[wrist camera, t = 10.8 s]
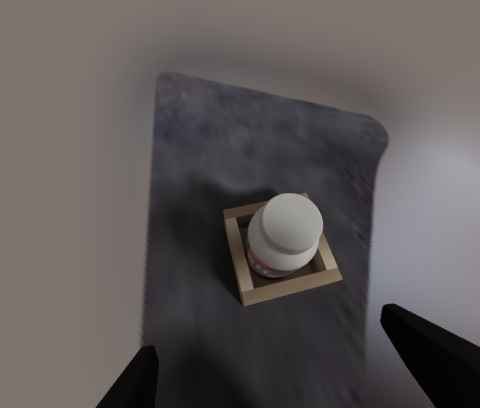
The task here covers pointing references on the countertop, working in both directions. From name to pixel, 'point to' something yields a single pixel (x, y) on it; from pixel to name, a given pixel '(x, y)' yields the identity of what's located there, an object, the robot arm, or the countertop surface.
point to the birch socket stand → (260, 290)
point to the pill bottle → (283, 236)
